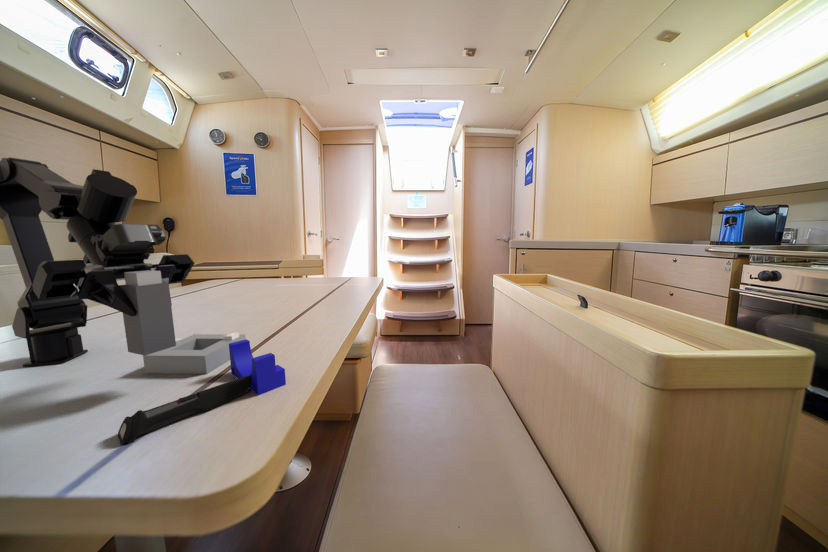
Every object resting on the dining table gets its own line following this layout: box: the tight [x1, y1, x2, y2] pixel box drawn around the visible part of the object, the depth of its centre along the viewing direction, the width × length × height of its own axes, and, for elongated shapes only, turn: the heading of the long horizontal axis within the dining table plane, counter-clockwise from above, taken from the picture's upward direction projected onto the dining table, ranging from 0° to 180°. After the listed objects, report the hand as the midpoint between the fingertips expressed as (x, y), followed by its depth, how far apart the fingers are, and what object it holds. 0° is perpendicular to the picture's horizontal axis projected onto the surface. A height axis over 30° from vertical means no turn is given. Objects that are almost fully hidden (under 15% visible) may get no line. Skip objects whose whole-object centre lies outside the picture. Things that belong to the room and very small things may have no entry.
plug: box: [118, 270, 177, 356], centre depth 47 cm, size 4×4×13 cm
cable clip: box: [229, 338, 287, 397], centre depth 51 cm, size 12×4×6 cm, turn 50°
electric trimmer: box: [117, 376, 251, 446], centre depth 42 cm, size 4×16×3 cm, turn 141°
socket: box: [142, 332, 247, 375], centre depth 60 cm, size 12×12×4 cm
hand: (153, 310), depth 47 cm, fingers closed on plug, 4 cm apart
